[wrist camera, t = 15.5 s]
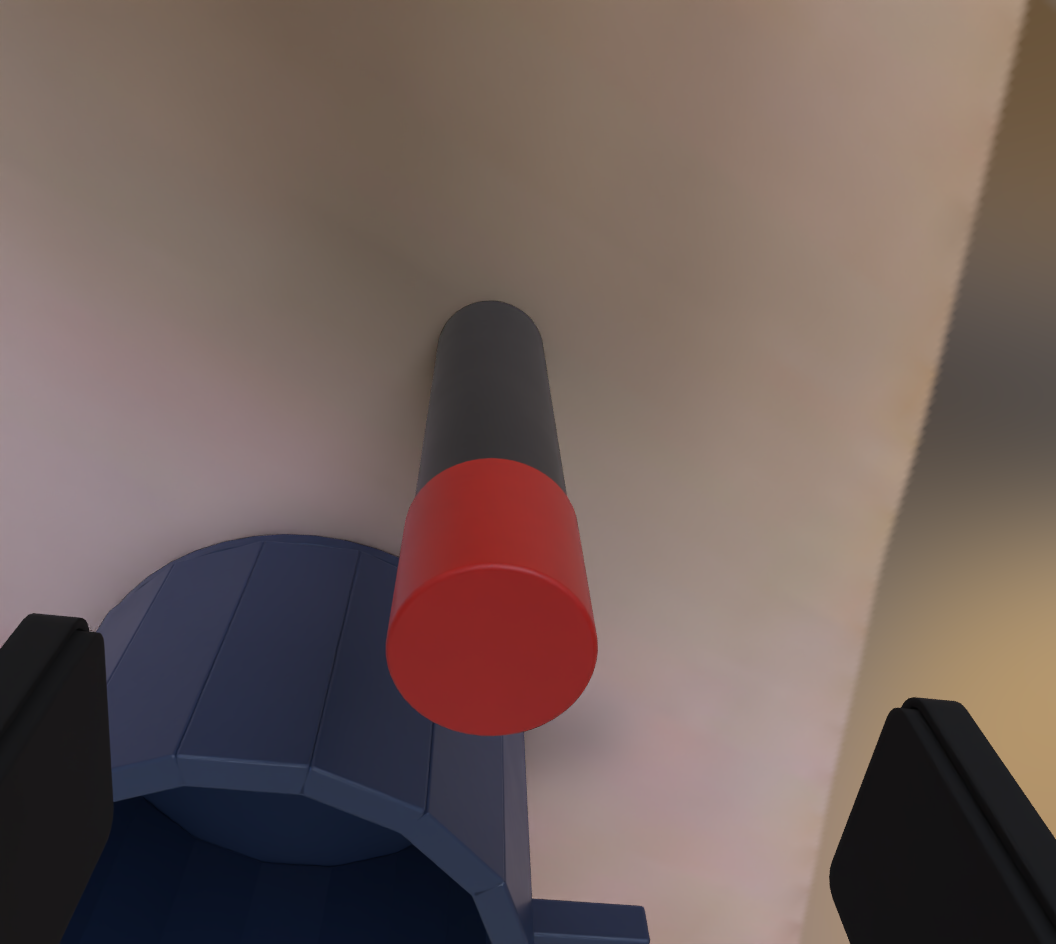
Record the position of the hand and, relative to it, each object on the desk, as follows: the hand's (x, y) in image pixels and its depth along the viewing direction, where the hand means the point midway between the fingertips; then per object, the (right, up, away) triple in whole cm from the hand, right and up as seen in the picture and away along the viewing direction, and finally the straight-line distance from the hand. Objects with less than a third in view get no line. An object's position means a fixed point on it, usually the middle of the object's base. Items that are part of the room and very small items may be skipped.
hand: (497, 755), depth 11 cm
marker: (-1, +6, +12) cm, 14 cm away
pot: (-6, -4, +17) cm, 18 cm away
